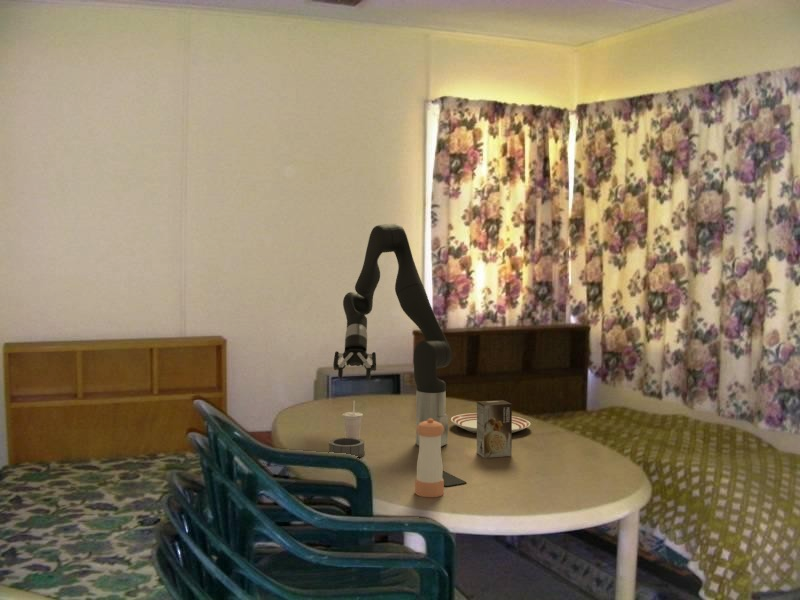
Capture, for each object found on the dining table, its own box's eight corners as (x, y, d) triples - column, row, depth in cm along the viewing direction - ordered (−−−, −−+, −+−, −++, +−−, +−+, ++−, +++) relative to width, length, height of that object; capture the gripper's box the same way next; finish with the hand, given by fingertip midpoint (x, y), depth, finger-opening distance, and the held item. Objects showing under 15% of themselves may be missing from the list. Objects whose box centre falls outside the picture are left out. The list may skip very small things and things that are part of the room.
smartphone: (445, 486, 203) (415, 470, 216) (445, 489, 203) (415, 474, 216) (468, 482, 207) (437, 467, 220) (468, 485, 207) (437, 470, 220)
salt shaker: (449, 493, 199) (450, 418, 198) (430, 499, 194) (431, 423, 193) (428, 486, 204) (429, 414, 203) (409, 492, 199) (410, 418, 198)
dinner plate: (494, 417, 289) (495, 408, 289) (547, 432, 266) (547, 423, 266) (434, 426, 274) (434, 416, 274) (484, 442, 251) (484, 432, 251)
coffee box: (503, 451, 241) (504, 399, 240) (512, 456, 235) (513, 403, 234) (475, 452, 238) (476, 400, 237) (483, 458, 232) (484, 405, 231)
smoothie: (354, 447, 242) (355, 403, 241) (338, 444, 246) (338, 400, 245) (366, 443, 248) (366, 400, 247) (350, 440, 251) (350, 397, 250)
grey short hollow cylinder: (371, 452, 237) (371, 440, 237) (352, 461, 227) (352, 448, 227) (341, 447, 242) (341, 435, 242) (321, 455, 233) (321, 443, 232)
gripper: (335, 333, 265) (332, 372, 254) (377, 333, 265) (375, 373, 255) (335, 346, 270) (332, 385, 260) (376, 347, 271) (375, 386, 260)
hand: (354, 379), depth 257 cm, fingers open, 8 cm apart
